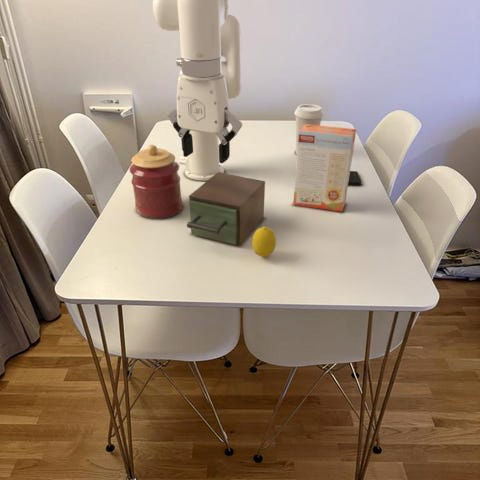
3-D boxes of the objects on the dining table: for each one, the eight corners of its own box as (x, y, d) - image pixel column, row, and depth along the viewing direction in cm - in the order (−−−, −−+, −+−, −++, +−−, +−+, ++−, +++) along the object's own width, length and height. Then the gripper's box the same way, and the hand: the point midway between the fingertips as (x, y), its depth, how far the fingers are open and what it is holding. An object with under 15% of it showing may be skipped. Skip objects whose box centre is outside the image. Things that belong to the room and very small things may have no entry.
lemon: (273, 264, 107) (274, 234, 102) (250, 261, 108) (250, 231, 103) (276, 252, 112) (278, 222, 106) (254, 249, 112) (254, 220, 107)
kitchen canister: (127, 215, 126) (116, 150, 115) (150, 195, 135) (141, 134, 124) (169, 223, 123) (162, 157, 111) (190, 202, 132) (185, 139, 120)
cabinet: (239, 246, 114) (239, 206, 107) (191, 234, 118) (188, 195, 111) (263, 218, 125) (265, 181, 118) (218, 208, 129) (217, 172, 122)
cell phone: (300, 172, 148) (300, 169, 147) (356, 173, 147) (357, 171, 146) (301, 184, 141) (302, 181, 140) (360, 185, 140) (361, 182, 139)
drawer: (226, 255, 109) (225, 221, 103) (180, 243, 113) (177, 211, 107) (258, 218, 123) (259, 187, 117) (216, 209, 126) (215, 179, 121)
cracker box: (345, 203, 131) (357, 128, 118) (341, 213, 127) (354, 135, 113) (297, 196, 135) (304, 122, 121) (292, 205, 130) (298, 129, 117)
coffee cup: (323, 151, 162) (328, 106, 152) (311, 160, 156) (316, 113, 146) (299, 146, 166) (303, 101, 156) (286, 154, 160) (289, 108, 150)
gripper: (152, 67, 88) (162, 157, 100) (234, 76, 83) (235, 170, 94) (172, 59, 94) (179, 146, 105) (251, 68, 88) (249, 158, 99)
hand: (205, 157), depth 100 cm, fingers open, 8 cm apart
